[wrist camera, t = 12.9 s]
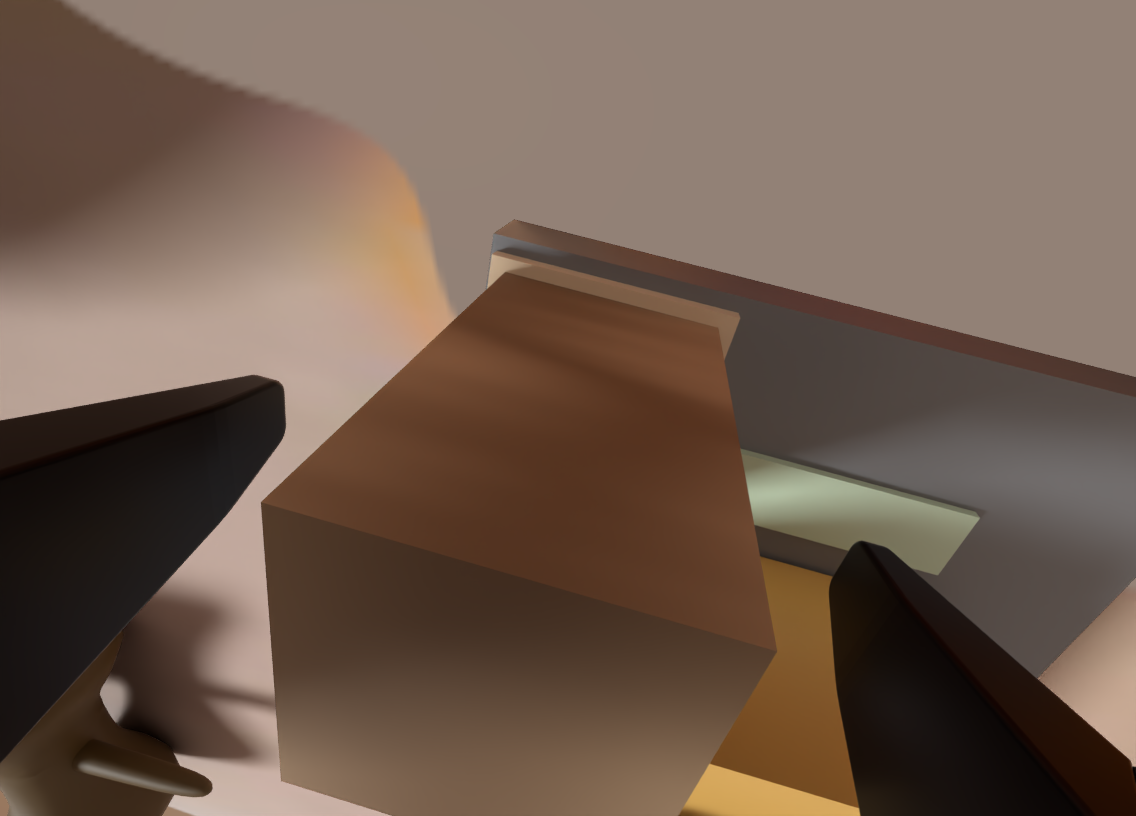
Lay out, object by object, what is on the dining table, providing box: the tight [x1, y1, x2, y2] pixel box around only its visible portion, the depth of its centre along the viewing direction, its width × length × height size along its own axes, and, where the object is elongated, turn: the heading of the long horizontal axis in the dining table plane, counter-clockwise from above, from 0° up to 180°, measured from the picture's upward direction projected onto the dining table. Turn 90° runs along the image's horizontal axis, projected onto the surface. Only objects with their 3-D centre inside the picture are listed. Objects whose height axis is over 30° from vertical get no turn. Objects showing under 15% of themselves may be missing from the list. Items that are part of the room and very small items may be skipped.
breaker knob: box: [678, 556, 860, 816], centre depth 11 cm, size 5×4×6 cm
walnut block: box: [261, 272, 777, 816], centre depth 8 cm, size 4×4×7 cm
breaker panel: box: [486, 220, 1136, 678], centre depth 14 cm, size 14×20×4 cm
